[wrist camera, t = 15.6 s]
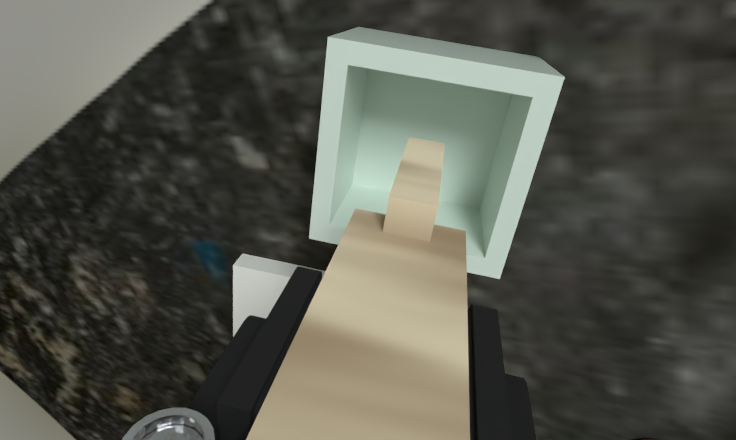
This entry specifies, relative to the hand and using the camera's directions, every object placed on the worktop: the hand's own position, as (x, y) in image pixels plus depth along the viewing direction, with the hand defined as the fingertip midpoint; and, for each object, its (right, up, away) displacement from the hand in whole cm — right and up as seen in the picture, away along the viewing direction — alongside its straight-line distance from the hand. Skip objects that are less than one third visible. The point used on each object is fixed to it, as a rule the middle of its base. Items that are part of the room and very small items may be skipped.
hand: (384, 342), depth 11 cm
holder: (+3, +8, +18) cm, 20 cm away
